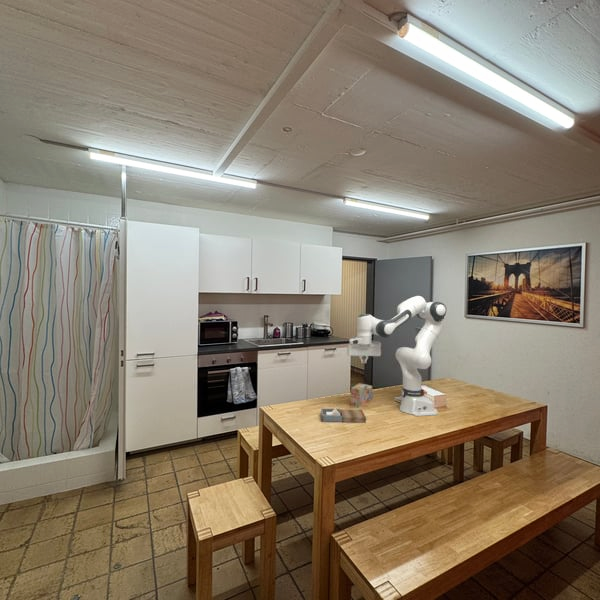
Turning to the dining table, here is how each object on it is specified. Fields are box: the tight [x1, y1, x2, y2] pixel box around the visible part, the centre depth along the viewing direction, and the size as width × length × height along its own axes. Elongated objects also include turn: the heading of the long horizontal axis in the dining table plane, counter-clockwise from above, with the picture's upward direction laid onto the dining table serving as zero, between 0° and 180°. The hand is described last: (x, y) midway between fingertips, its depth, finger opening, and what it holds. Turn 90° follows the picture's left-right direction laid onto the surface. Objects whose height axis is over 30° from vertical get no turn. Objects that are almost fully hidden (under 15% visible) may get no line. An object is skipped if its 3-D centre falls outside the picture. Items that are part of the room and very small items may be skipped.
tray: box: [320, 408, 343, 423], centre depth 182 cm, size 11×11×4 cm
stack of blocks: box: [350, 382, 373, 409], centre depth 209 cm, size 21×6×12 cm, turn 144°
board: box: [339, 408, 367, 424], centre depth 182 cm, size 13×12×3 cm
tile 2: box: [332, 408, 341, 416], centre depth 182 cm, size 4×4×2 cm
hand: (363, 363), depth 189 cm, fingers closed
